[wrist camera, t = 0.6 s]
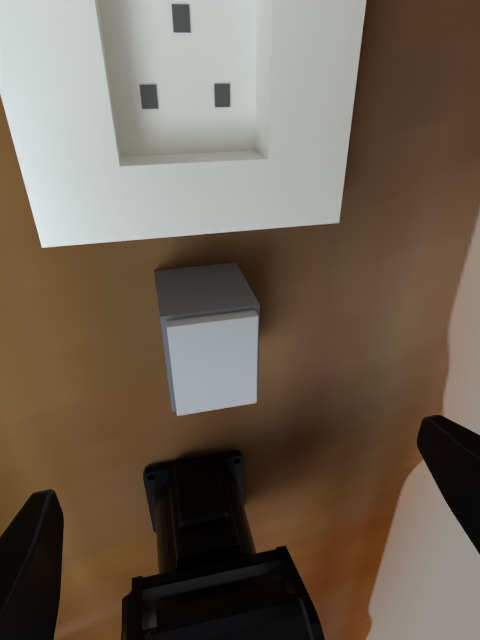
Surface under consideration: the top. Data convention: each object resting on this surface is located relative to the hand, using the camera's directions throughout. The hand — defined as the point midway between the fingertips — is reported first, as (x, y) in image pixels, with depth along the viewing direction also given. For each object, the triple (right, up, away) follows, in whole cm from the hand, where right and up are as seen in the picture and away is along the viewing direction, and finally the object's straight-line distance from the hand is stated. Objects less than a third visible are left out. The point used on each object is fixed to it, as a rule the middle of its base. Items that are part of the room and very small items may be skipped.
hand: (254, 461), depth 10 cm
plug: (-2, +4, +12) cm, 12 cm away
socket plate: (-3, +13, +6) cm, 15 cm away
